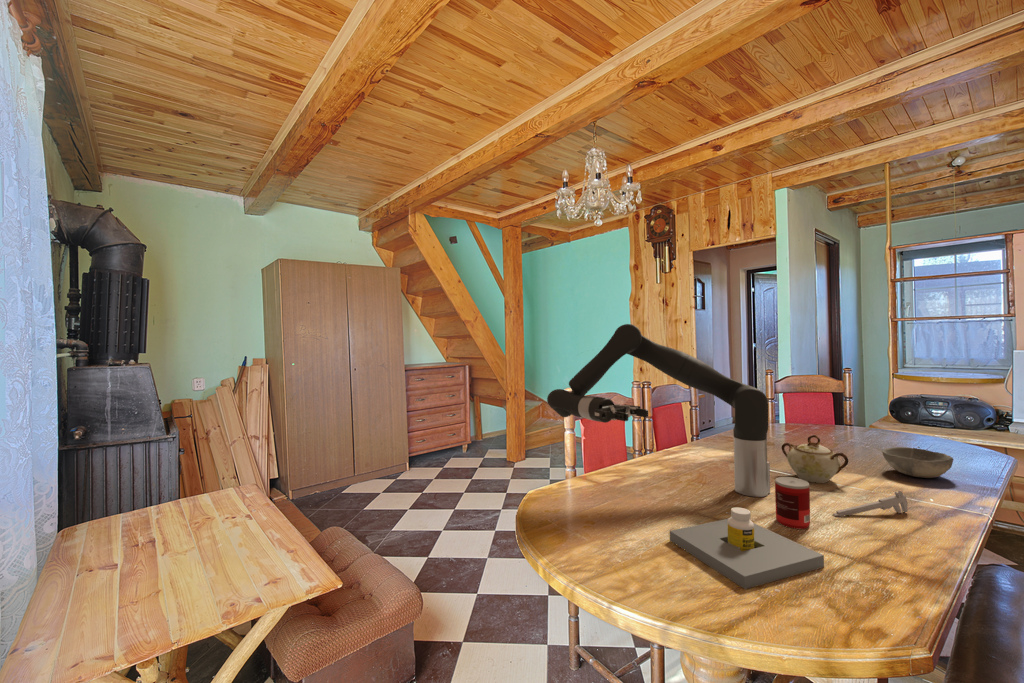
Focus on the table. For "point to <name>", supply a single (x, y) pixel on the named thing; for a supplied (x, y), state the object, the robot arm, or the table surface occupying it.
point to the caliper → (878, 505)
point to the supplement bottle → (741, 529)
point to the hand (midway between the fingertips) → (637, 415)
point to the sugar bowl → (814, 461)
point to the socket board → (747, 553)
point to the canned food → (792, 502)
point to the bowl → (918, 461)
